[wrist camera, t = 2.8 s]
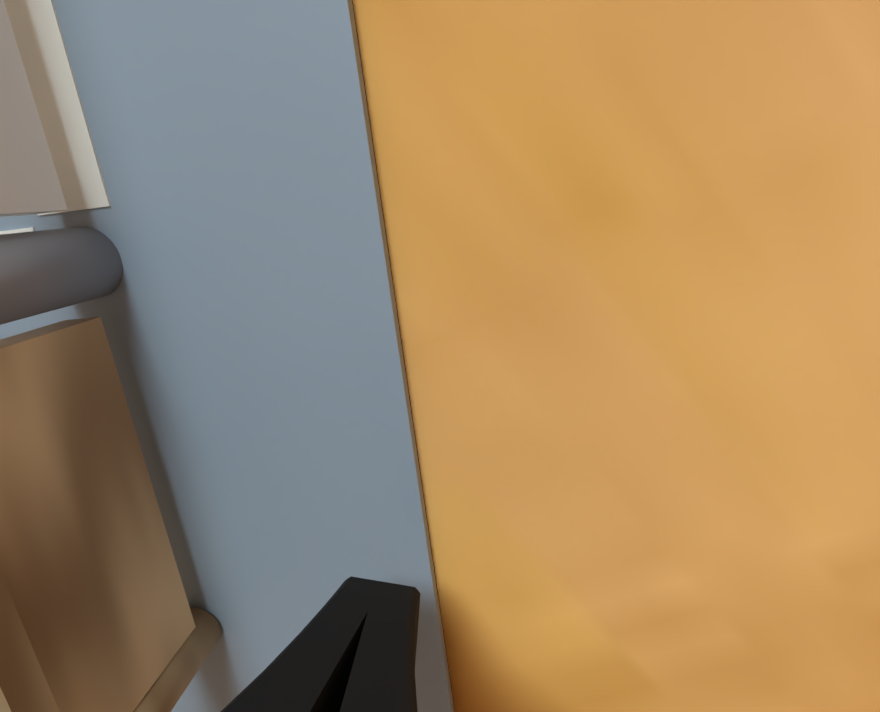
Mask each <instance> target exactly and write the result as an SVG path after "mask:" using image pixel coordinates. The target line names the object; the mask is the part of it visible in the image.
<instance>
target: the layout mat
mask: <svg viewBox="0 0 880 712" xmlns="http://www.w3.org/2000/svg"><path fill="white" fill-rule="evenodd" d="M4 4H5V7H6V10H7V13H8V17H9V20H10V23H11V26H12V30H13V33H14V36H15V40H16V43H17V46H18V49H19V53H20V56H21V59H22V62H23V66H24V69H25V72H26V75H27V79H28V82H29V85H30V88H31V92H32V95H33V98H34V101H35V105H36V108H37V111H38V115H39V118H40V121H41V124H42V128H43V131H44V134H45V137H46V141H47V144H48V147H49V150H50V154H51V157H52V160H53V163H54V167H55V170H56V173H57V176H58V180H59V183H60V186H61V189H62V193H63V196H64V199H65V203H66V206H67V209H68V210H64V211H56V212H49V213H41V214H34V215H22V216H7V217H0V235H1V234H11V233H21V232H31V231H41V230H51V229H61V228H71V227H82V226H84V227H90V228H94V229H96V230H98V231H100V232H102V233H103V234H105V235H106V236H107V237H108V238H109V239H110V240H111V241H112V242H113V244H114V245H115V247H116V248H117V250H118V252H119V254H120V257H121V260H122V266H123V274H122V279H121V282H120V284H119V286H118V288H117V289H116V290H115V291H114V292H113V293H111V294H109V295H107V296H104V297H100V298H97V299H93V300H89V301H86V302H82V303H78V304H75V305H71V306H67V307H64V308H60V309H56V310H53V311H49V312H45V313H42V314H38V315H34V316H31V317H27V318H23V319H20V320H16V321H12V322H9V323H5V324H1V325H0V339H4V338H7V337H10V336H14V335H17V334H20V333H24V332H27V331H30V330H34V329H37V328H40V327H44V326H47V325H50V324H54V323H57V322H60V321H63V320H71V319H82V318H93V317H101V320H102V323H103V326H104V330H105V333H106V336H107V339H108V343H109V346H110V349H111V352H112V356H113V359H114V362H115V366H116V369H117V372H118V375H119V379H120V382H121V385H122V388H123V392H124V395H125V398H126V401H127V405H128V408H129V411H130V414H131V418H132V421H133V424H134V427H135V431H136V434H137V437H138V441H139V444H140V447H141V450H142V454H143V457H144V460H145V463H146V467H147V470H148V473H149V476H150V480H151V483H152V486H153V489H154V493H155V496H156V499H157V502H158V506H159V509H160V512H161V515H162V519H163V522H164V525H165V529H166V532H167V535H168V538H169V542H170V545H171V548H172V551H173V555H174V558H175V561H176V564H177V568H178V571H179V574H180V577H181V581H182V584H183V587H184V590H185V594H186V597H187V600H188V603H189V607H195V608H200V609H202V610H205V611H206V612H208V613H209V614H211V615H212V616H213V617H214V618H215V619H216V621H217V622H218V624H219V626H220V630H221V635H220V638H219V640H218V642H217V643H216V645H215V646H214V648H213V649H212V651H211V652H210V654H209V655H208V657H207V658H206V660H205V661H204V663H203V664H202V666H201V667H200V669H199V670H198V672H197V673H196V675H195V676H194V678H193V679H192V681H191V682H190V684H189V685H188V687H187V688H186V690H185V691H184V693H183V694H182V696H181V697H180V699H179V700H178V702H177V703H176V705H175V706H174V708H173V709H172V711H171V712H220V711H222V710H223V709H224V708H225V707H226V706H227V705H228V704H229V703H230V702H231V701H232V700H233V699H234V698H235V697H236V696H237V695H239V694H240V693H241V692H242V691H243V690H244V689H245V688H246V687H247V686H248V685H249V684H250V683H251V682H252V681H253V680H254V679H255V678H256V677H257V676H258V675H259V674H261V673H262V672H263V671H264V670H265V669H266V668H267V667H268V666H269V665H270V664H271V663H272V662H273V661H274V659H275V658H276V657H277V656H278V655H279V654H280V653H281V652H282V651H283V650H284V649H285V648H286V647H287V646H288V645H289V644H290V643H291V642H292V641H293V640H294V638H295V637H296V636H297V635H298V634H299V633H300V632H301V631H302V630H303V629H304V628H305V627H306V625H307V624H308V623H309V622H310V621H311V620H312V619H313V618H314V617H315V615H316V614H317V613H318V612H319V611H320V610H321V609H322V607H323V606H324V605H325V604H326V603H327V602H328V600H329V599H330V598H331V597H332V596H333V594H334V593H335V592H336V591H337V590H338V588H339V587H340V586H341V585H342V583H343V582H344V581H345V580H346V579H348V578H349V577H351V576H352V577H358V578H364V579H370V580H376V581H382V582H388V583H394V584H400V585H406V586H412V587H415V588H416V589H417V590H418V591H419V592H420V607H419V620H418V634H417V647H416V661H415V682H416V697H417V709H418V712H454V705H453V698H452V691H451V684H450V677H449V670H448V663H447V656H446V649H445V642H444V635H443V628H442V621H441V615H440V608H439V601H438V594H437V587H436V580H435V573H434V566H433V559H432V552H431V545H430V538H429V531H428V524H427V517H426V510H425V503H424V496H423V490H422V483H421V476H420V469H419V462H418V455H417V448H416V441H415V434H414V427H413V420H412V413H411V406H410V399H409V392H408V385H407V378H406V372H405V365H404V358H403V351H402V344H401V337H400V330H399V323H398V316H397V309H396V302H395V295H394V288H393V281H392V274H391V267H390V260H389V254H388V247H387V240H386V233H385V226H384V219H383V212H382V205H381V198H380V191H379V184H378V177H377V170H376V163H375V156H374V149H373V142H372V135H371V129H370V122H369V115H368V108H367V101H366V94H365V87H364V80H363V73H362V66H361V59H360V52H359V45H358V38H357V31H356V24H355V17H354V11H353V4H352V0H4Z"/></svg>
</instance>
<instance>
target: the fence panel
mask: <svg viewBox="0 0 880 712" xmlns="http://www.w3.org/2000/svg"><path fill="white" fill-rule="evenodd" d="M220 635H221V630H220V626H219V624H218V622H217V621H216V619H215V618H214V617H213V616H212V615H211V614H209V613H208V612H206V611H205V610H202V609H200V608H195V607H189V603H188V600H187V597H186V594H185V590H184V587H183V584H182V581H181V577H180V574H179V571H178V568H177V564H176V561H175V558H174V555H173V551H172V548H171V545H170V542H169V538H168V535H167V532H166V529H165V525H164V522H163V519H162V515H161V512H160V509H159V506H158V502H157V499H156V496H155V493H154V489H153V486H152V483H151V480H150V476H149V473H148V470H147V467H146V463H145V460H144V457H143V454H142V450H141V447H140V444H139V441H138V437H137V434H136V431H135V427H134V424H133V421H132V418H131V414H130V411H129V408H128V405H127V401H126V398H125V395H124V392H123V388H122V385H121V382H120V379H119V375H118V372H117V369H116V366H115V362H114V359H113V356H112V352H111V349H110V346H109V343H108V339H107V336H106V333H105V330H104V326H103V323H102V320H101V317H93V318H82V319H71V320H63V321H60V322H57V323H54V324H50V325H47V326H44V327H40V328H37V329H34V330H30V331H27V332H24V333H20V334H17V335H14V336H10V337H7V338H4V339H0V712H171V711H172V709H173V708H174V706H175V705H176V703H177V702H178V700H179V699H180V697H181V696H182V694H183V693H184V691H185V690H186V688H187V687H188V685H189V684H190V682H191V681H192V679H193V678H194V676H195V675H196V673H197V672H198V670H199V669H200V667H201V666H202V664H203V663H204V661H205V660H206V658H207V657H208V655H209V654H210V652H211V651H212V649H213V648H214V646H215V645H216V643H217V642H218V640H219V638H220Z"/></svg>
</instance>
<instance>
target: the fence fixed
mask: <svg viewBox="0 0 880 712" xmlns="http://www.w3.org/2000/svg"><path fill="white" fill-rule="evenodd" d="M64 210H68V209H67V206H66V203H65V199H64V196H63V193H62V189H61V186H60V183H59V180H58V176H57V173H56V170H55V167H54V163H53V160H52V157H51V154H50V150H49V147H48V144H47V141H46V137H45V134H44V131H43V128H42V124H41V121H40V118H39V115H38V111H37V108H36V105H35V101H34V98H33V95H32V92H31V88H30V85H29V82H28V79H27V75H26V72H25V69H24V66H23V62H22V59H21V56H20V53H19V49H18V46H17V43H16V40H15V36H14V33H13V30H12V26H11V23H10V20H9V17H8V13H7V10H6V7H5V4H4V0H0V217H7V216H22V215H34V214H41V213H49V212H56V211H64ZM122 274H123V266H122V260H121V257H120V254H119V252H118V250H117V248H116V247H115V245H114V244H113V242H112V241H111V240H110V239H109V238H108V237H107V236H106V235H105V234H103V233H102V232H100V231H98V230H96V229H94V228H90V227H84V226H82V227H71V228H61V229H51V230H41V231H31V232H21V233H11V234H1V235H0V325H1V324H5V323H9V322H12V321H16V320H20V319H23V318H27V317H31V316H34V315H38V314H42V313H45V312H49V311H53V310H56V309H60V308H64V307H67V306H71V305H75V304H78V303H82V302H86V301H89V300H93V299H97V298H100V297H104V296H107V295H109V294H111V293H113V292H114V291H115V290H116V289H117V288H118V286H119V284H120V282H121V279H122Z"/></svg>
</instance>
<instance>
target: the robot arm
mask: <svg viewBox="0 0 880 712" xmlns="http://www.w3.org/2000/svg"><path fill="white" fill-rule="evenodd" d="M419 607H420V592H419V591H418V590H417V589H416V588H415V587H412V586H406V585H400V584H394V583H388V582H382V581H376V580H370V579H364V578H358V577H352V576H351V577H349V578H348V579H346V580H345V581H344V582H343V583H342V585H341V586H340V587H339V588H338V590H337V591H336V592H335V593H334V594H333V596H332V597H331V598H330V599H329V600H328V602H327V603H326V604H325V605H324V606H323V607H322V609H321V610H320V611H319V612H318V613H317V614H316V615H315V617H314V618H313V619H312V620H311V621H310V622H309V623H308V624H307V625H306V627H305V628H304V629H303V630H302V631H301V632H300V633H299V634H298V635H297V636H296V637H295V638H294V640H293V641H292V642H291V643H290V644H289V645H288V646H287V647H286V648H285V649H284V650H283V651H282V652H281V653H280V654H279V655H278V656H277V657H276V658H275V659H274V661H273V662H272V663H271V664H270V665H269V666H268V667H267V668H266V669H265V670H264V671H263V672H262V673H261V674H259V675H258V676H257V677H256V678H255V679H254V680H253V681H252V682H251V683H250V684H249V685H248V686H247V687H246V688H245V689H244V690H243V691H242V692H241V693H240V694H239V695H237V696H236V697H235V698H234V699H233V700H232V701H231V702H230V703H229V704H228V705H227V706H226V707H225V708H224V709H223V710H222V711H220V712H418V709H417V697H416V682H415V661H416V647H417V634H418V620H419Z"/></svg>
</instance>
